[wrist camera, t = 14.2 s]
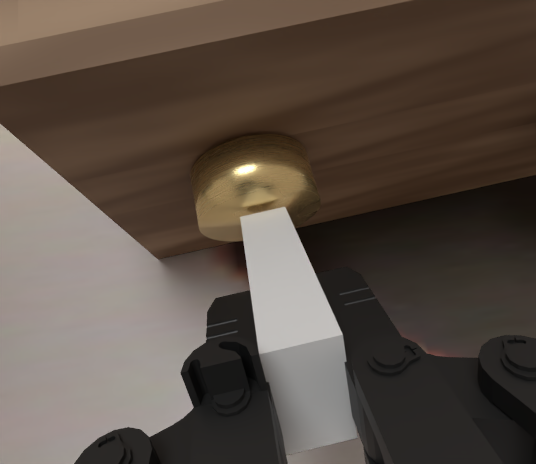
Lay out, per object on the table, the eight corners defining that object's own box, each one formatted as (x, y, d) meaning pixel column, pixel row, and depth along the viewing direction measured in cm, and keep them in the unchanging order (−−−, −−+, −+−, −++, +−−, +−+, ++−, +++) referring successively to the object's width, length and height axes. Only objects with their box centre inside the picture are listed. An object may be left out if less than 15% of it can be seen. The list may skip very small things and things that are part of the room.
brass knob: (316, 226, 16) (326, 176, 12) (211, 249, 16) (184, 207, 12) (281, 100, 18) (279, 21, 14) (188, 120, 18) (159, 46, 14)
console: (598, 160, 23) (1024, -128, 10) (158, 259, 22) (-35, 93, 9) (523, 32, 26) (763, -312, 13) (139, 114, 25) (-21, -163, 12)
